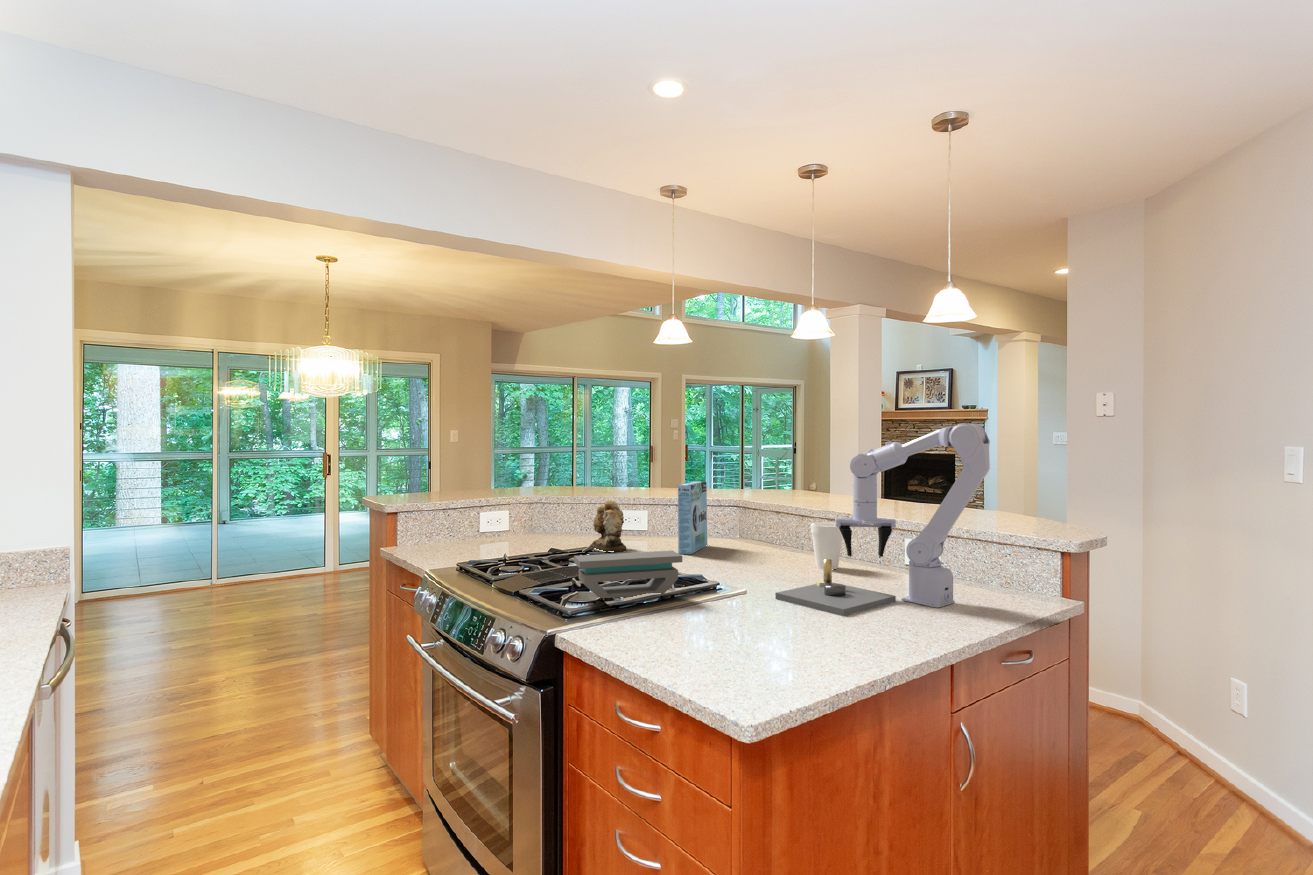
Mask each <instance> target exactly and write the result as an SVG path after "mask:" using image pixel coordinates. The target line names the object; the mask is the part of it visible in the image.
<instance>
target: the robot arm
mask: <svg viewBox="0 0 1313 875" xmlns="http://www.w3.org/2000/svg"><path fill="white" fill-rule="evenodd" d="M884 444H885V445H883V446H880V447H877V448H875V449H873V448H870V449H867V453H858V454H857V455H855V456H853V458H852V459H851V460H850V462H849V463H850V464H849V468H850V472H851V473H852V474H853V476H852V477H853V480H852V482H853V484H852V485H853V486H852V488H853V489H852V490H853V491H852V494H853V498H852V499H853V500H852V501H853V502H852V504H853V508H852V510H853V511H852V515H853V516H852V517H847V518H846V517H844V518H835V519H834V523H835V526H836V527H839V529H840V531H841V534H842V540H844V543H845V548H846V555H847V557H852V556H853V554H852V553H853V552H852V535H853V531H852V528H877V533H878V549H877V550H878V556H879V557H880V558H883V557H884V553H885V549H886V545H887V543H888V540H889V538H890V536H891V534H893V533H892V532H893V528H894V529H896V527H897V525H896V524H897V523H896V522H897V520H896V519H895V518H878V478H877V477H878V476H877V475H878V474H879V473H882V472H885V471H887V470H891V469H893V468H896V467H898V466H901V465H904V464H905V463H906V462H907V460H908V457H910V456H913V455H915V454H918V453H921V452H924V451H927V450H931V449H934V448H936V447H940V446H941V447H945V448H946V447H947V448H949V447H952V448H953V449H954V450H955V451H956V452H957V454H958V455H959V457H960V460H961V463H962V466H963V469H962V470H961V472H960V474H959V475H958V476H957V478H956V480H955V481H954V483H953V484H952V486H951V487H950V489H949V490H948V492H947V494H946V495H945V497H944V498H943V500H942V502H940V505H939V506H938V508H937V509H936V511H935V512H934V514H933V515H932V517H931V519H930V520H929V522H928V523H927V525H925V527H924V528H923V529H922V530H921V531H920V532H919V534H918V536H917V537H915V538H913V539H912V540H910V541H909V542H908V544H907V546H906V547H905V548H906V550H905V553H906V556H907V558H908V560H909V561H908V596H905V597H901V599H900V600H901V601H905V602H909V603H913V604H918V605H923V606H927V607H932V608H942V607H945V606H949V605H953V604H954V603H955V602H956V601H955V600H954V575H953V571H952V570H951V568H948V567H944V566H943V565H942V560H941V559H940V557H941V556H942V554H943V552H944V545H945V543H946V541H947V539H948V535H949V533H950V531H951V529H952V528H953V527H954V525H955V523H956V522H957V520H958V519H959V517H960V516H961V514H962V513H963V511H964V510H965V508H966V507H967V505H968V503H969V502H970V501H971V499H972V497H973V496H974V494H975V493H976V492H977V489H978V488H979V487H980V485H981V484H982V482H983V481H984V479H985V477H986V476H987V475H988V473H989V471H990V469H991V468H990V465H991V464H990V444H991V441H990V438H989V436H988V434H987V432H986V429H985V428H984V427H983V426H982V425H980V424H977V423H973V422H972V423H971V422H970V423H966V422H963V423H958V424H956V425H953V426H952V425H951V426H946V427H943V428H940V429H936V430H935V431H931V432H930V433H929V432H928V433H927V434H924V435H922V436H920V437H918V438H915V439H912V440H910V441H908V442H905V443H901V442H898V441H892V440H889V441H886V442H885V443H884Z"/></svg>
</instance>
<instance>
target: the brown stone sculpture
mask: <svg viewBox="0 0 1313 875" xmlns="http://www.w3.org/2000/svg"><path fill="white" fill-rule="evenodd" d="M624 524H625V520H624V512H623V511H622V509H620V507H619V505H618V503H617V502H616V501H614V500H613V499H610V500H609V499H607V500H606V501H605V502H604V504H600V505H598V506H597V507H596V514H595V516H594V518H593V528H594V532H596V533H598V534H600V537H599V538H597V539H595V540H593V541H592V543H591V544H590V545H589V548H590V547H593V548H596V549H599V550H603V551H614V552H620V553H625V552H627V546H626V545H625V544H624V543H623V542H622V538H621V536H622V531H623V525H624ZM624 551H625V552H624Z"/></svg>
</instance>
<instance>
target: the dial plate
mask: <svg viewBox="0 0 1313 875" xmlns="http://www.w3.org/2000/svg"><path fill="white" fill-rule="evenodd" d="M831 583H834V582H831ZM824 585H825V582H824V581H821V580H816V581H815V584H810V585H805V586H801V587H796V588H791V589H786V590H781V591H777V592H775V593H774V594H775V600H779V601H782V602H786V603H790V604H794V605H798V606H802V607H806V608H810V609H814V610H818V611H822V612H825V613H830V614H833V615H837V616H842V617H844V616H848V615H852V614H856V613H861V612H864V611H867V610H871V609H874V608H879V607H882V606H887V605H889V604H893V603H896V602H897V601H896V600H897V598H896V597H897V596H896V595H893V594H889V593H884V592H879V591H875V590H869V589H865V588H860V587H856V586H851V585H845V584H844V585H845V586H846V595H844V596H829V595H826V594H824Z"/></svg>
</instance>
